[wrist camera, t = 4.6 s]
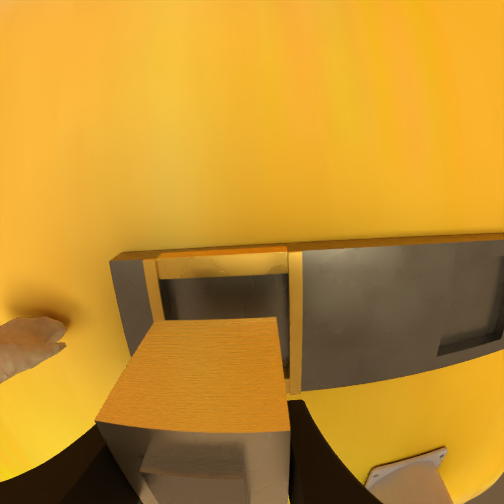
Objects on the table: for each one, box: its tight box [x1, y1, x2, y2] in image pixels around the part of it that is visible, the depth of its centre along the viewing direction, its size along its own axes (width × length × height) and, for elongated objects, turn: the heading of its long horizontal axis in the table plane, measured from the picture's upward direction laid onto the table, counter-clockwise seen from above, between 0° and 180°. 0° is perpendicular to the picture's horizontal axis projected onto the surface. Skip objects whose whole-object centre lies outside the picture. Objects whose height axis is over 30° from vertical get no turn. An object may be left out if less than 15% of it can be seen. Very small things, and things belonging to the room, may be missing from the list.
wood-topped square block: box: [94, 317, 291, 504], centre depth 9 cm, size 4×4×6 cm
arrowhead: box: [0, 316, 67, 384], centre depth 12 cm, size 8×3×10 cm, turn 93°
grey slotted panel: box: [109, 233, 504, 395], centre depth 15 cm, size 8×26×2 cm, turn 93°
